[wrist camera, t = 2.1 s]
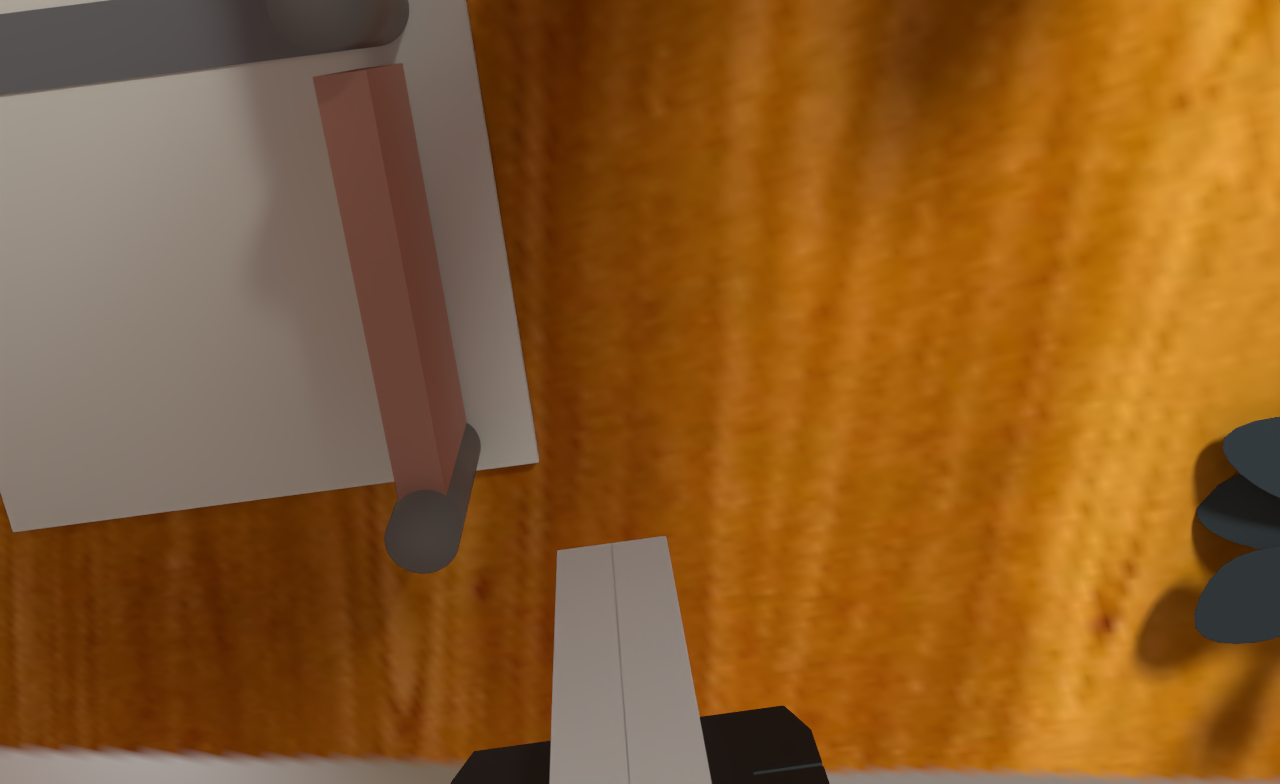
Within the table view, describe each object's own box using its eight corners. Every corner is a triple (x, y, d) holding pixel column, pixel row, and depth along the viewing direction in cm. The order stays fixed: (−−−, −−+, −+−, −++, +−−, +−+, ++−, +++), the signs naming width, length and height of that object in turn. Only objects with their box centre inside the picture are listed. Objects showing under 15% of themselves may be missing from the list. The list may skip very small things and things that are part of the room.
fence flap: (347, 70, 31) (288, 80, 25) (413, 61, 31) (372, 69, 25) (425, 477, 34) (392, 578, 28) (485, 470, 34) (464, 567, 28)
